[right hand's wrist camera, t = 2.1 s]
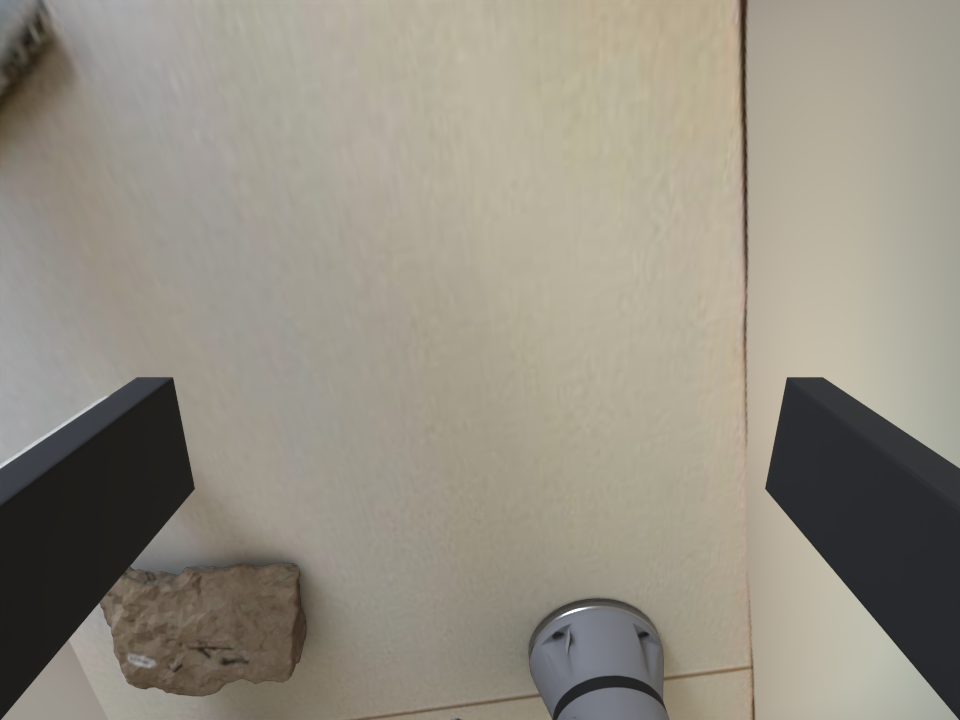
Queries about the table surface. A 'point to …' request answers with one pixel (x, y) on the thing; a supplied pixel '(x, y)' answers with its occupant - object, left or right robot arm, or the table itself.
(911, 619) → the right robot arm
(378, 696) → the table surface
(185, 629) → the stone
